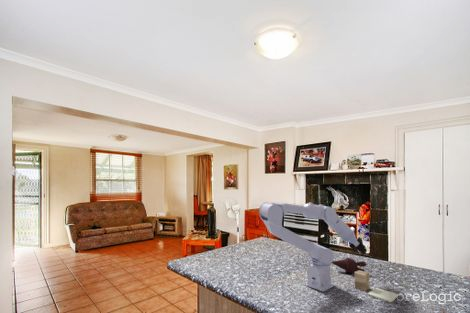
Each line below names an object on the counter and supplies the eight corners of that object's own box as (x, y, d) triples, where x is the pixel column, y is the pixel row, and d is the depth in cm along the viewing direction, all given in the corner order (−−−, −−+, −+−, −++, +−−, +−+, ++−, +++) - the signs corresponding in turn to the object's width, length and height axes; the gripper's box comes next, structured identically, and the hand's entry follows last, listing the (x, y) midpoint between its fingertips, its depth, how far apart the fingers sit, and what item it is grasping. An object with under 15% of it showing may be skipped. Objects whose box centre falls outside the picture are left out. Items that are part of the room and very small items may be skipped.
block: (365, 291, 100) (364, 275, 100) (355, 288, 103) (354, 272, 103) (369, 288, 102) (369, 272, 103) (359, 285, 105) (358, 270, 106)
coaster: (391, 303, 90) (391, 301, 90) (367, 295, 96) (367, 293, 96) (399, 296, 95) (399, 294, 95) (376, 289, 101) (376, 287, 101)
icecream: (332, 259, 119) (368, 265, 114) (331, 251, 125) (365, 257, 121) (330, 273, 120) (366, 280, 115) (330, 264, 127) (363, 270, 122)
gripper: (355, 228, 102) (376, 250, 104) (339, 214, 117) (358, 233, 119) (342, 240, 103) (363, 261, 105) (327, 224, 117) (347, 243, 119)
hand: (360, 247), depth 112 cm, fingers open, 7 cm apart
